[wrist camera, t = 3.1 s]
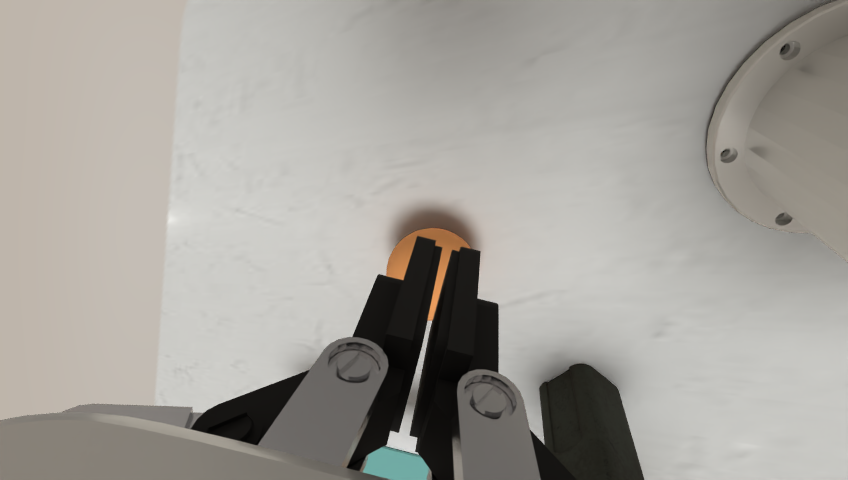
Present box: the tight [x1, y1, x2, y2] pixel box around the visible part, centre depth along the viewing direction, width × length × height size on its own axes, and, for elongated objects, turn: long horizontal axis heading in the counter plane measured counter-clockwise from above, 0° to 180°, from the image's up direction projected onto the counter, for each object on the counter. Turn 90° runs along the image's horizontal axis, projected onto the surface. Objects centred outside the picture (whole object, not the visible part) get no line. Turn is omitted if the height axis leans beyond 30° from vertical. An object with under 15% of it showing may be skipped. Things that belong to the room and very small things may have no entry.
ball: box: [386, 228, 471, 320], centre depth 29 cm, size 6×6×6 cm
